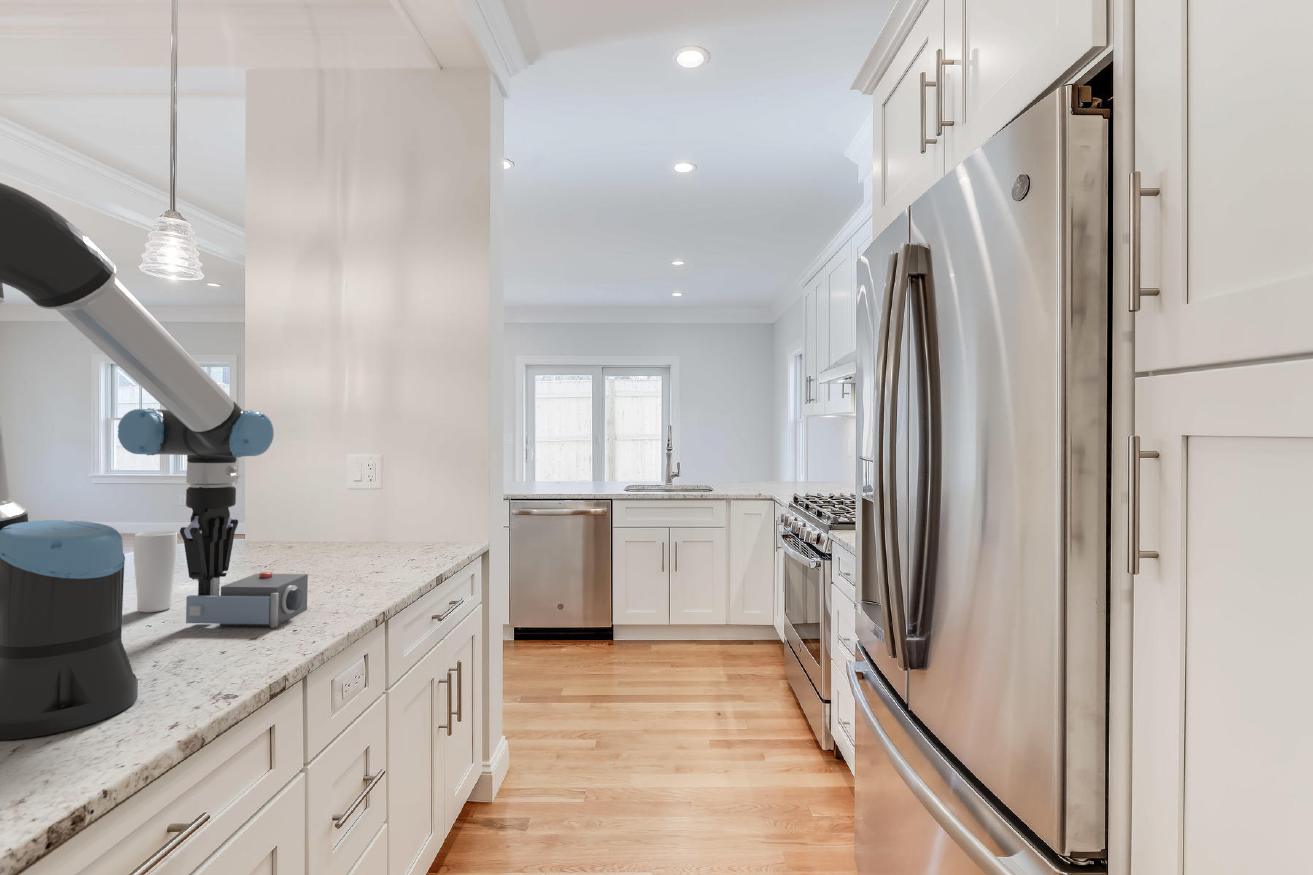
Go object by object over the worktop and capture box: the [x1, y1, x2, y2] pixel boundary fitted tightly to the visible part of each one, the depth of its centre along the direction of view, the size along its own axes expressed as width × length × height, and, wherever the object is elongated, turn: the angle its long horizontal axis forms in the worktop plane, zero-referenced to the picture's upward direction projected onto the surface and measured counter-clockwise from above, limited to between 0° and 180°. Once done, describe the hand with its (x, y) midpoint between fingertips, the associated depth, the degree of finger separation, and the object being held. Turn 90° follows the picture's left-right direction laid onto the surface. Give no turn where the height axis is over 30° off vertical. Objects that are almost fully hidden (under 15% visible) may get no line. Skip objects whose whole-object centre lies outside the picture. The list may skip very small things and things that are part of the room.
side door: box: [185, 593, 279, 629], centre depth 114 cm, size 2×16×6 cm, turn 92°
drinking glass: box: [133, 530, 179, 614], centre depth 125 cm, size 7×7×15 cm
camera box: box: [219, 571, 309, 627], centre depth 121 cm, size 11×12×8 cm
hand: (208, 613), depth 117 cm, fingers closed
